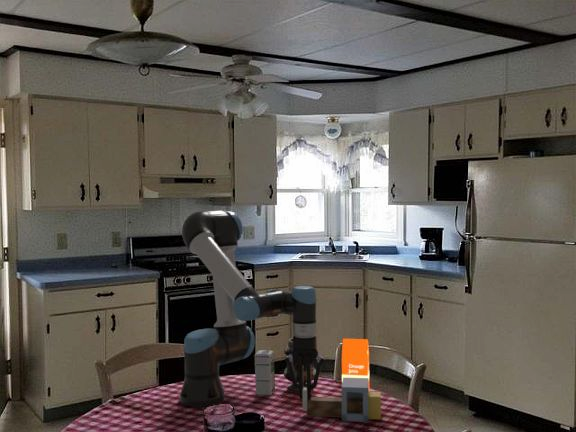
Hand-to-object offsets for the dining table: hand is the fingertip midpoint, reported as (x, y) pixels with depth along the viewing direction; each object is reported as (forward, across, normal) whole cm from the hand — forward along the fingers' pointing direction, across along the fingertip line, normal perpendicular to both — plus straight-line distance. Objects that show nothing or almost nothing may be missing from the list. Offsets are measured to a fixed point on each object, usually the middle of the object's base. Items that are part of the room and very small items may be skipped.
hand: (305, 409), depth 196 cm
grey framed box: (+2, +16, 0) cm, 16 cm away
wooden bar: (+2, +10, 0) cm, 10 cm away
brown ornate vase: (+2, -5, +25) cm, 25 cm away
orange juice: (+2, +15, +19) cm, 24 cm away
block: (+2, +21, 0) cm, 21 cm away
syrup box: (+2, -17, +20) cm, 26 cm away
